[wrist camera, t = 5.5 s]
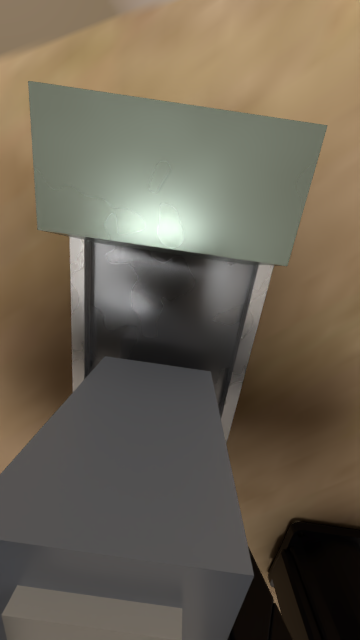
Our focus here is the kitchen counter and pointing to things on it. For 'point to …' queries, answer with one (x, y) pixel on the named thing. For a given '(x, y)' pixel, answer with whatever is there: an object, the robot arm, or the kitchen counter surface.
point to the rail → (168, 224)
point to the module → (124, 514)
